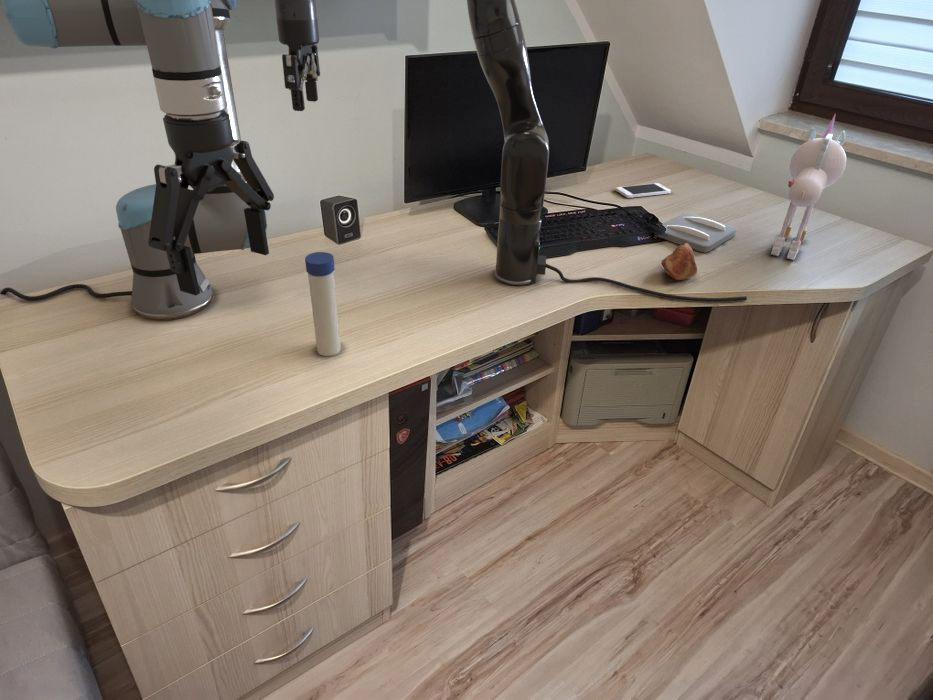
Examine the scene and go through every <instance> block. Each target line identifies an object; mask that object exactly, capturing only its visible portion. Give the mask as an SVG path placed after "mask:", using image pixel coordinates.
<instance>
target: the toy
mask: <svg viewBox="0 0 933 700" xmlns="http://www.w3.org/2000/svg"><path fill="white" fill-rule="evenodd" d="M836 116H837V115H836V112H835V113H834V115H833V116H832V119H831V120H830V122H829V124H828V126H827V128H826V130H825V131H824V133H823V134H822V136H821V137H817V138H816V136H817V128H815V127H810V129H809V130H808V133H807V135H806V136H805V142H804V143H802V144H801V145H800V146H798V148H797V149H796V150H795V151H794V152H793V154H792V156H791V159H790V162H789V173H790V175H791V178H792V180H789V181H788V188H789V189H788V198H789V201H790V202H789V205H788V209H787V212H786V215H785V218H784V221H783V223H782V227H781V230H780V233H779V235H777V236H776V239H775V241H774V243H773V246H772V249H771V253H770V255H772V256H776V257H779V255H780V253H781V252H782V249H783V248H784V246H785V242H786V240H789V238H790V234H791V232H792V227H793V225H792V223H793V219H794V217H795V213H796V211H797V208H798V207H801V208H802V207H804V208H805V210H804V213H803V216H802V219H801V222H800V225H799V227H798V230H797V233H796V237H795V239H793V240H792V242H791V245H790V247H789V250H788V253H787V256H786V259H788V260H792V261H794V260H795V259H796V257H797V255H798V253H799V251H800V249H801V245H802V244H803V243H804V240H805V238H806V235H807V231H808V228H807V227H808V224H809V221H810V218H811V215H812V212H813V209H814V207H815V204H816V202H817V201H818V200H819V199H820V197H821V195H822V193H823V191H824V189H827V188H828V187H831V186H832V185H834V184H835V183H836V182H837V181H838V180H840V178H841V177H842V176H843V174H844V173H845V170H846V168H847V167H846V166H847V154H846V152H845V150H844V148H843V145H844V143H845V141H846V140H847V134H846V131H845V130H840V131H839V132H838V133H837V135H836V137H835V139H833V129H834V125H835V120H836ZM841 135H842V138H841V141H840V137H841Z"/></svg>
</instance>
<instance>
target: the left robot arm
mask: <svg viewBox="0 0 933 700" xmlns="http://www.w3.org/2000/svg"><path fill="white" fill-rule="evenodd" d="M1 3H2V9H3V11H4V14H5V17H6V20H7V22H8V23H7V24H8V25H9V28H10V30H11V31H12V33H13V35H14V36H15V38H16V39H17V40H18V41H19V42H20V43H22V44H23V45H25V46H27V47H31V48H33V47H35V48H37V47H38V48H50V49H53V50H54V49H58V48H73V47H77V48H78V47H105V46H106V47H110V46H111V47H113V46H114V47H115V46H116V47H129V46H130V47H132V46H133V47H136V46H137V47H138V46H144V47H145V46H146V48H147V49H146V50H147V52H148V56H149V61H150V66H151V71H152V78H153V82H154V86H155V91H156V96H157V101H158V105H159V110H160V111H161V112H162V113H164V114H165V115H164V116H163V118H162V122H163V125H164V129H165V134H166V135H165V136H166V139H167V143H168V145H169V147H170V149H171V150H172V151H173V154H174V156H175V157H174V158H175V159H174V164H170V165H163V164H156V165H155V166H154V168H153V175H154V180H155V184H148V185H145V186H141V187H138V188H135V189H133V190H131V191H129V192H127V193H125V194H123V195H122V196H121V197H120V198H119V199H118V200H117V202H116V205H115V212H116V216H117V217H116V218H117V220H118V225H117V226H118V228H119V229H120V232H121V235H122V239H123V242H124V246H125V249H126V253H127V257H128V260H129V263H130V267H131V269H132V289H131V290H129V291H127V290H126V291H114V292H113V291H112V292H107V293H99V292H96V291H94V290H93V288H92V287H91V286H89V285H87V284H84V283H74V284H73V283H72V284H68V285H65V286H63V287H60V288H57V289H54V290H52V291H50V292H47V293H45V294H41V295H40V294H39V295H26V294H23V293H21V292H19V291H17V290H16V289H14V288H12V287H4V288H3V289H2V290H1V291H0V295H2V296H3V295H6V294H8V293H11V294H12V295H13V296H15V297H17V298H18V299H21V300H24V301H28V302H38V301H42V300H46V299H50V298H52V297H54V296H57V295H60V294H61V293H65V292H68V291H70V290H75V289H82V290H85V291H87V292H88V294H89V295H91V296H92V297H94V298H96V299H108V298H116V297H130V299H131V300H130V301H131V306H132V310H133V312H134V314H136V315H137V316H138V317H140V318H142V319H145V320H150V321H172V320H178V319H183V318H186V317H190V316H193V315H195V314H197V313H200V312H202V311H203V310H204V309H206V308H207V307H209V306H210V305H211V303H212V302H213V300H214V292H213V287H212V286H211V283H210V281H209V280H208V277H207V276H206V275H205V274H204V272H203V270H202V269H201V267H200V266H199V264H198V263H197V260H196V255H197V254H198V255H199V254H207V253H215V252H224V251H225V252H227V251H236V250H241V251H244V250H246V249H250V253H251V252H252V253H255V254H259V255H262V256H268V255H269V254H270V250H269V249H270V248H269V244H268V237H267V228H268V224H267V211H270V209H271V202H272V201H273V200H274V199H275V194H274V192H273V190H272V189H271V186H270V185H269V183H268V182H267V180H266V178H265V177H264V175H263V173H262V171H261V170H260V168H259V166H258V164H257V163H256V161H255V159H254V157H253V155H252V150H251V146H250V143H249V141H248V140H247V141H246V140H242V137H241V132H240V127H239V126H240V125H239V119H238V113H237V108H236V107H237V106H236V101H235V96H234V89H233V88H234V87H233V82H232V76H231V69H230V65H229V58H228V51H227V45H226V40H225V34H224V33H225V29H226V28H227V26H229V24H230V22H231V14H230V11H234V10H236V9H237V6H238V5H237V1H236V0H1ZM189 187H190V188H191V189H190V188H189Z"/></svg>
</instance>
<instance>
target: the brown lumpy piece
mask: <svg viewBox="0 0 933 700" xmlns="http://www.w3.org/2000/svg"><path fill="white" fill-rule="evenodd" d="M693 250H694V249H692V248H691V246H690V245H689V244H688V243H685V244H684V245H680V244H679V245H678V246H677V247H675V249H674V250H673V251H672V253H671V254H669V255H668V256H666V257H665V258H664V259H662V260H661V262H660V265H661V266H662V268H663V270H664V272H665V273H666V274H667V275H668V276H670V277H671V278H672V279H674V280H676V281H684V280H688V279H689V278H692V277H693V276H694V275H696V274H698V267H697V264H696V260H695V254H694V251H693Z"/></svg>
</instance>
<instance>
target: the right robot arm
mask: <svg viewBox="0 0 933 700" xmlns="http://www.w3.org/2000/svg"><path fill="white" fill-rule="evenodd" d="M466 5H467V13H468V19H469V20H468V21H469V25H470V30H471V35H472V39H473V44H474V46H475V50H476V55H477V57H478V61H479V65H480V67H481V69H482V72H483V74H484V76H485V78H486V81H487V84H488V85H489V87H490V89H491V91H492V93H493V96H494V97H495V100H496V104H497V106H498V111H499V115H500V119H501V124H502V125H501V126H502V131H503V132H502V133H503V139H504V140H503V141H504V142H503V147H502V153H501V169H500V187H499V192H500V194H499V195H500V196H499V197H500V198H499V211H498V228H497V244H496V260H495V270H494V277H495V278H496V280H498V281H499V282H502V283H503V284H508V285H510V286H525V285H530V284H537V275H541V276H545V275H546V269H548V270H551V271H553V272H555V273H557V274H558V276H559V278H560V279H561V281H563V282H565V283H569V284H575V283H577V284H578V283H587V282H604V283H607V284H612V285H615V286H619V287H622V288H624V289H625V288H626V289H628V290H632V291H637V292H641V293H644V294H649V295H652V296H656V297H661V298H667V299H672V300H679V301H690V302H708V303H709V302H710V303H711V302H736V301H737V302H739V301H747V300H748V297H747V295H746V296H731V297H698V296H697V297H695V296H683V295H678V294H677V295H676V294H670V293H664V292H659V291H655V290H650V289H647V288H642V287H639V286H635V285H630V284H627V283H625V282H621V281H617V280H615V279H610V278H605V277H598V276H596V277H595V276H594V277H593V276H592V277H591V276H590V277H585V278H580V279H570V278H567V277H565V276H564V274H563V271H561V270H560V269H559V268H557V267H556V266H553V265H550V264H548V263H547V255H540V249H541V247H540V246H541V244H540V243H541V231H542V222H543V221H542V220H543V213H544V212H543V211H544V201H545V194H546V189H547V188H546V187H547V180H548V179H547V178H548V168H549V160H550V159H549V158H550V141H549V137H548V134H547V131H546V129H545V126H544V123H543V121H542V118H541V115H540V112H539V108H538V107H537V106H538V105H537V103H536V100H535V96H534V91H533V86H532V85H533V84H532V77H531V68H530V61H529V55H528V49H527V45H526V44H527V43H526V39H525V34H524V31H523V30H524V29H523V25H522V22H521V18H520V14H519V11H518V7H517V4H516V0H466ZM274 10H275V17H276V27H277V35H278V36H277V37H278V42H279V43H280V44H282V45H286V46H287V47H288V54H287V53H285V54H284V53H282V55H281V59H282V60H281V61H282V71H283V81H284V87H285V89H286V90H289V91H290V96H291V105H292V110H293V111H295V112H303V111H304V110H305V109H306V107H305V97H304V88H305V96H306V101H307V102H314V103H315V102H317V101H318V100H319V95H318V94H319V93H318V85H317V84H318V83H317V82H318V80H319V77H320V76H321V71H320V68H321V67H320V60H319V59H320V58H319V50H318V48H319V47H318V45H317V44H319V42H320V34H319V33H320V32H319V24H318V23H319V22H318V11H317V1H316V0H274ZM304 84H305V85H304ZM304 86H305V87H304Z"/></svg>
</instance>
